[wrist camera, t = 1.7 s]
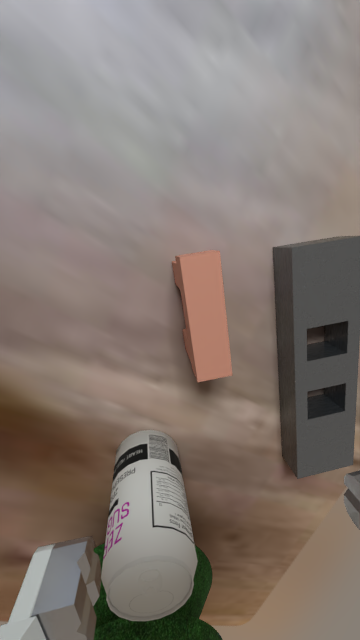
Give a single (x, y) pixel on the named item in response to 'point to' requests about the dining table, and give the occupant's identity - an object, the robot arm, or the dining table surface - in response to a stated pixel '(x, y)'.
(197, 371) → the pink notched block
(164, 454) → the supplement can
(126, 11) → the dining table surface
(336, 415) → the rail
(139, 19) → the dining table surface
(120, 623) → the decorative tree
